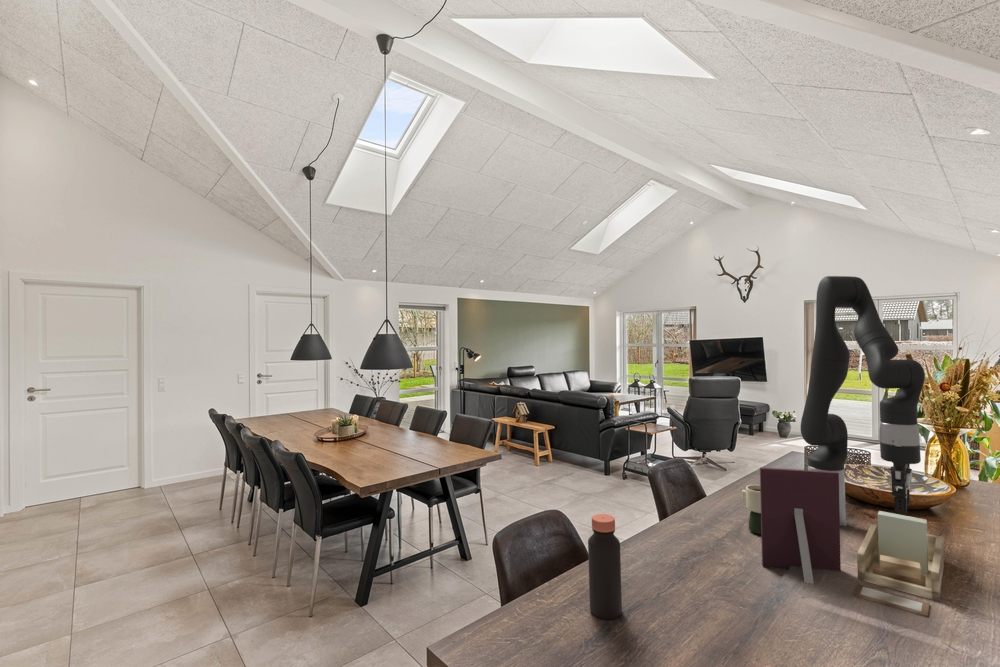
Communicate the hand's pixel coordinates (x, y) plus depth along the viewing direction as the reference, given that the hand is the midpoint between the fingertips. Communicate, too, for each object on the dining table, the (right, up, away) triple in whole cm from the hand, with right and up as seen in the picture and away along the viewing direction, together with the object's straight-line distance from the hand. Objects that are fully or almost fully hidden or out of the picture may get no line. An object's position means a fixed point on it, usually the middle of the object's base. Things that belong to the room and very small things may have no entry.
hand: (902, 508), depth 116 cm
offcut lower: (-7, -14, -7) cm, 18 cm away
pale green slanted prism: (0, -14, 0) cm, 14 cm away
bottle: (-75, -18, -13) cm, 78 cm away
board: (-15, -16, -14) cm, 26 cm away
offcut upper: (-7, -12, -8) cm, 16 cm away
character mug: (-21, -16, +25) cm, 36 cm away
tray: (-2, -15, -2) cm, 16 cm away
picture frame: (-25, -16, -2) cm, 30 cm away
